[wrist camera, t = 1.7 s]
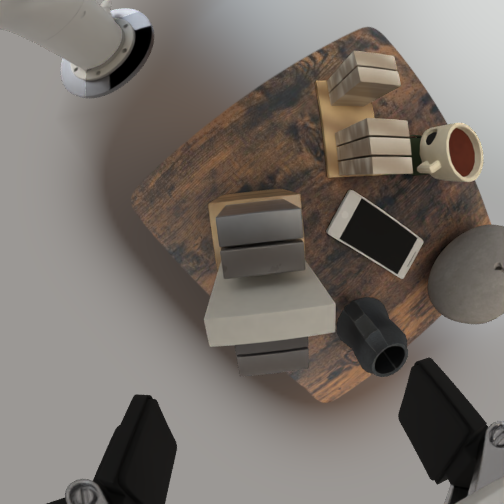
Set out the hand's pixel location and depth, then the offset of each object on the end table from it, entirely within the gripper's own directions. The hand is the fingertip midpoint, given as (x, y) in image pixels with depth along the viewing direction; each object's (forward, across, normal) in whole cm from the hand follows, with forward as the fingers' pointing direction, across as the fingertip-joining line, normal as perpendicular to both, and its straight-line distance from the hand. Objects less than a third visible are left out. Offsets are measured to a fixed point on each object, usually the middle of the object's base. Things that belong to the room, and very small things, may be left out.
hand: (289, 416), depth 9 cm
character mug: (+32, -25, -10) cm, 41 cm away
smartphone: (+31, -18, +2) cm, 36 cm away
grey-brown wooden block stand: (+31, -14, -14) cm, 37 cm away
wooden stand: (+31, 0, 0) cm, 31 cm away
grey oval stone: (+32, -32, +6) cm, 45 cm away
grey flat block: (+17, 0, 0) cm, 17 cm away
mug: (+32, -15, +15) cm, 38 cm away
